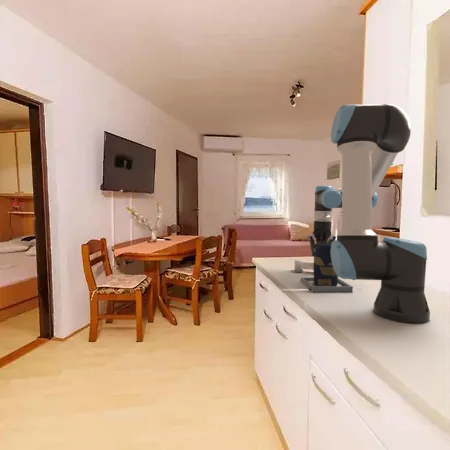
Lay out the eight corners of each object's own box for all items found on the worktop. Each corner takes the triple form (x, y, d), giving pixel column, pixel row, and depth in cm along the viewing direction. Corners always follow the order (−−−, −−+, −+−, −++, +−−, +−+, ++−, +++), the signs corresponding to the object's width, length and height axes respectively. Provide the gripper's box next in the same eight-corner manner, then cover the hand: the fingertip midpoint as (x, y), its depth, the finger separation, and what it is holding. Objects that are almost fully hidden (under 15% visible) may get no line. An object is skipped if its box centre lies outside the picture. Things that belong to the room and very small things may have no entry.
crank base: (306, 275, 152) (306, 273, 152) (293, 275, 151) (293, 273, 151) (302, 272, 158) (302, 270, 158) (290, 272, 157) (290, 270, 157)
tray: (352, 292, 124) (352, 286, 124) (311, 292, 123) (312, 286, 123) (337, 282, 139) (337, 277, 138) (300, 282, 138) (300, 277, 137)
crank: (294, 271, 153) (294, 257, 153) (294, 270, 157) (295, 256, 156) (329, 274, 149) (329, 259, 149) (329, 272, 153) (329, 258, 152)
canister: (339, 289, 125) (341, 242, 124) (313, 288, 127) (315, 241, 126) (335, 283, 135) (337, 239, 133) (312, 282, 137) (313, 238, 135)
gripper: (312, 220, 142) (310, 274, 144) (340, 221, 144) (337, 274, 146) (305, 219, 149) (303, 271, 151) (331, 220, 152) (329, 270, 154)
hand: (320, 272), depth 149 cm, fingers closed
